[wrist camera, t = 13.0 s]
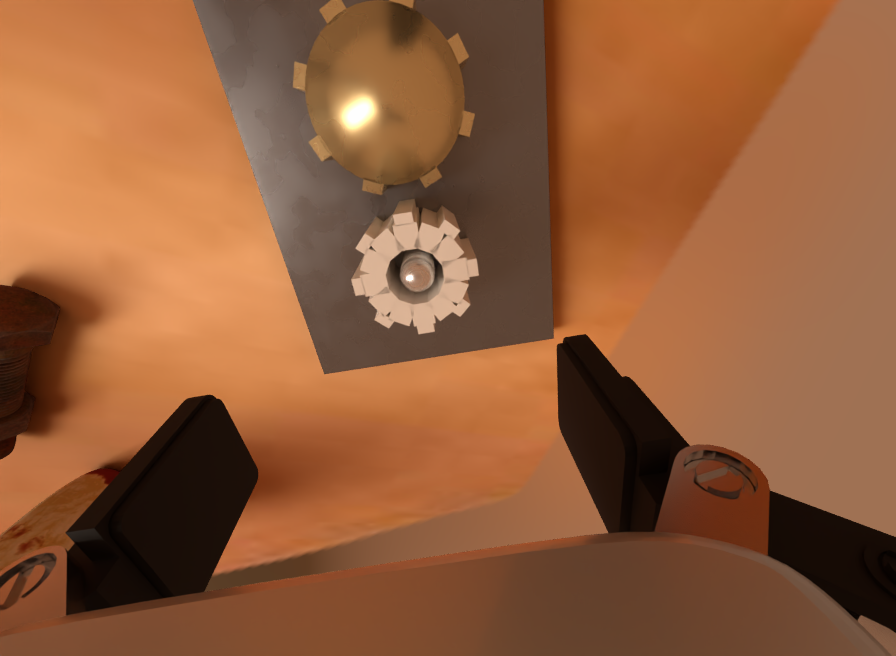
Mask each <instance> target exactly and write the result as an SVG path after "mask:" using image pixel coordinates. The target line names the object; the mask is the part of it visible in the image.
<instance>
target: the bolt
mask: <svg viewBox="0 0 896 656" xmlns="http://www.w3.org/2000/svg"><path fill="white" fill-rule="evenodd" d="M59 309H60V307H59V306H57V305H56V304H55V303H53V302H52V301H50V300H49V299H47V298H46V297H43V296H41V295H39V294H37V293H35V292H32V291H30V290H27V289H23V288H17V287H11V286H5V285H0V459H3V458H4V457H6V456H8V455H9V454H10V453H11V452H12V451H13V449H14V446H15V443H16V436H17V435H18V434H20V433H22V432H24V431H26V430H27V427H28V424H29V421H30V418H31V414H32V410H33V406H34V401H35V398H34V397H33V396H31V395H30V394H28V393H27V392H25V391H24V390H25V384H26V379H27V373H28V369H29V363H30V357H31V352H32V349H33V347H34V346H40V345H46V344H50V342H51V338H52V335H53V332H54V329H55V326H56V322H57V319H58V314H59Z"/></svg>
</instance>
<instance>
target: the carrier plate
mask: <svg viewBox="0 0 896 656" xmlns="http://www.w3.org/2000/svg"><path fill="white" fill-rule="evenodd" d="M329 1H331V0H193V2H194V5H195V8H196V11H197V14H198V16H199V19H200V22H201V25H202V28H203V31H204V34H205V36H206V39H207V42H208V45H209V48H210V51H211V53H212V56H213V59H214V62H215V65H216V68H217V70H218V73H219V76H220V79H221V82H222V85H223V87H224V90H225V93H226V96H227V99H228V102H229V105H230V107H231V110H232V113H233V116H234V119H235V122H236V124H237V127H238V130H239V133H240V136H241V139H242V141H243V144H244V147H245V150H246V153H247V156H248V159H249V161H250V164H251V167H252V170H253V173H254V176H255V178H256V181H257V184H258V187H259V190H260V193H261V195H262V198H263V201H264V204H265V207H266V210H267V212H268V215H269V218H270V221H271V224H272V227H273V230H274V232H275V235H276V238H277V241H278V244H279V247H280V249H281V252H282V255H283V258H284V261H285V264H286V266H287V269H288V272H289V275H290V278H291V281H292V284H293V286H294V289H295V292H296V295H297V298H298V301H299V303H300V306H301V309H302V312H303V315H304V318H305V320H306V323H307V326H308V329H309V332H310V335H311V337H312V340H313V343H314V346H315V349H316V352H317V355H318V357H319V360H320V363H321V366H322V369H323V372H324V374H329V373H335V372H341V371H348V370H354V369H361V368H367V367H374V366H380V365H386V364H393V363H399V362H406V361H412V360H418V359H425V358H431V357H438V356H444V355H451V354H457V353H463V352H470V351H476V350H483V349H489V348H495V347H502V346H508V345H515V344H521V343H528V342H534V341H540V340H547V339H553V338H554V332H553V299H552V266H551V233H550V200H549V168H548V135H547V102H546V69H545V36H544V3H543V0H416V11H417V12H419V13H421V14H422V15H424V16H425V17H426V18H427V19H429V20H430V21H431V22H432V23H433V24H434V25H435V26H436V27H437V28H438V29H439V30H440V31H441V33H442V34H443V35H444V37H445V38H446V40H449V39H450V38H451V37H453V36H454V35H456V34H457V33H458V34H459V37H460V39H461V41H462V43H463V45H464V47H465V49H466V51H467V53H468V56H469V58H468V60H467V62H466V64H465V66H464V68H462V69H461V74H462V78H463V84H464V96H465V103H464V111H467V112H471V113H474V114H475V116H474V120H473V124H472V128H471V133H470V137H461V136H458V137H457V139H456V141H455V144H454V145H453V147H452V149H451V150H450V152H449V153H448V155H447V156H446V157H445V159H444V160H443V161H442V162H441V163H440V164H439V165H438V166H437V168H438V170H439V171H440V173H441V176H442V177H441V178H440V179H438V180H437V181H435V182H434V183H432V184H431V185H429V186H428V187H426V188H425V187H424V185H423V183H422V182H421V180H420V178H419V179H417V180H414V181H412V182H408V183H403V184H395V185H388V186H387V190H386V191H385V192H384V193H383V194H382V195H379V194H375V193H371V192H367V191H363V190H362V187H363V180H364V179H362V178H360V177H358V176H356V175H354V174H352V173H351V172H349V171H348V170H346V169H345V168H344V167H342V166H341V165H340V164H339V163H338V162H337V161H336V160H335V159H333V160H328V161H323V162H322V161H321V160H320V158H319V157H318V155H317V154H316V152H315V151H314V150H313V148H312V147H311V145H310V144H309V141H311V140H312V139H313V138H315V137H316V136H317V134H316V132H315V130H314V127H313V125H312V122H311V119H310V116H309V113H308V108H307V104H306V95H305V92H303V91H301V90H298V89H296V88H293V77H294V61H295V62H298V63H302V64H305V65H307V63H308V59H309V55H310V52H311V50H312V47H313V45H314V43H315V41H316V39H317V37H318V36H319V34H320V32H321V31H322V30H323V28H324V27H325V26H326V25H327V22H326V21H325V19H324V17H323V16H322V14H321V12H320V11H319V9H321V8H322V7H323V6H324V5H326V4H327V3H328V2H329ZM366 1H374V0H342V2H343V3H344V5H345V7H346V8H348V7H351V6H353V5H355V4H358V3H362V2H366ZM383 1H389V0H383ZM410 199H415V204H416V207H418V208H419V213H420V215H421V212H422V209H423V208H425V209H428V210H431V211H433V212H436V213H437V212H438V210H439V209H440V207H441V206H443V207H445V208H446V209H447V210H449V211H450V212H451V213H453V214H454V215H455V218H456V221H457V223H458V226H459V229H460V232H459V233H458V235H459V237H460V239H465V238H468V239H469V242H470V244H471V246H472V249H473V251H474V253H475V256H476V258H477V265H478V273H479V276H473V277H469V279H470V280H468V283H469V285H468V288H467V293H468V296H469V300H470V306H469V307H468V308H467V309H466V311H465V312H464V313H463V314H462V315H461V317H460V316H458V315H457V314H455V313H453V312H452V313H450V314H449V315H448V316H446V317H445V318H444V319H442V320H441V321H440V320H439V319H438V318H437V317H436V316H435V319H436V323H434V325H435V332H429V333H423V334H418V330H417V326H415V327H414V323H413V319H412V320H411V323H410V326H407V325H404V324H401V323H398V322H393V324H392V325H391V326H390V328H387V327H385V326H384V325H382V324H380V323H379V322H377V321H375V316H376V313H377V309H376V308H375V307H374V306H373V305H372V304H371V303H370V302H369V298H370V296H367V297H366V296H365V294H364V295H358V296H356V295H355V292H354V288H353V285H352V281H351V278H352V277H353V275H354V273H355V271H356V269H357V268H358V266H359V264H360V262H361V260H362V259H363V257H364V255H365V254H363V253H361V252H360V251H358V250H357V249H355V248H356V246H357V245H358V243H359V242H360V240H361V239H362V237H363V235H364V234H365V232H366V231H367V229H368V228H369V226H370V225H371V223H372V222H373V220H374V219H375V217H378V218H379V219H380V220H382V221H383V222H384V221H385V220H386V219H388V218H389V217H390V216H391V215H392V214H393V213H394V211H395V209H396V207H397V205H398V203H399V201H404V200H410ZM394 259H395V264H396V265H397V266H398V267H399V268H400V279H401V281H402V283H403V285H404V286H405V287H406V288H407V289H409V290H411V291H414V292H421V291H424V290H426V289H428V288H429V287H430V286H431V285H432V283H433V281H434V278H435V269H436V268H437V267H438V264H439V261H438V260H437V259H436V258H435V257H434V255H433V254H431V253H429V252H426V251H423V250H420V249H418V248H417V249H411V250H405V251H401V252H400V253H399V254H398V255H397V256H395V257H394Z"/></svg>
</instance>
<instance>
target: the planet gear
mask: <svg viewBox="0 0 896 656" xmlns="http://www.w3.org/2000/svg"><path fill="white" fill-rule="evenodd" d="M459 232H460V229H459V226H458V223H457V221H456V218H455V215H454V214H453V213H451V212H450V211H449V210H447V209H446V208H445V207H443V206H441V207H440V209H439V210H438V212H437V213H436V212H433V211H431V210H428V209H425V208H423V209H422V212H421V215H420V213H419V208H418V207H416V204H415V199H410V200H404V201H399V203H398V205H397V207H396V209H395V211H394V213H393V214H392V215H391V216H390V217H389V218H388V219H386V220H385V221H384V222H383V221H382V220H380V219H379V218H378V217H375V219H374V220H373V222H372V223H371V225H370V226H369V228H368V229H367V231H366V232H365V234H364V235H363V237H362V239H361V240H360V242H359V243H358V245H357V246H356V248H355V249H357V250H358V251H360V252H361V253H363V254H365V255H364V257H363V259H362V260H361V262H360V264H359V266H358V268H357V269H356V271H355V273H354V275H353V277H352V278H351V281H352V285H353V288H354V292H355V295H356V296H358V295H364V294H365V296H366V297H367V296H370V298H369V302H370V303H371V304H372V305H373V306H374V307H375V308H376V309H377V313H376V316H375V321H377V322H379V323H380V324H382V325H384V326H385V327H387V328H390V326H391V325H392V324H393V322H398V323H401V324H404V325H407V326H410V323H411V320H412V319H413V323H414V327H415V326H417V330H418V334H423V333H429V332H435V325H434V323H436V319H435V316H436V317H437V318H438V319H439V320H440V321H441V320H442V319H444V318H445V317H446V316H448V315H449V314H450V313H452V312H453V313H455V314H457V315H458V316H460V317H461V315H462V314H463V313H464V312H465V311H466V309H467V308H468V307H469V306H470V300H469V296H468V293H467V288H468V285H469V283H468V280H470V279H469V277H473V276H479V273H478V265H477V258H476V256H475V253H474V251H473V249H472V246H471V244H470V242H469V239H468V238H465V239H460V237H459V235H458V233H459ZM417 248H418V249H420V250H423V251H426V252H429V253H431V254H433V255H434V257H435V258H436V259H437V260H438V261H439V264H438V267H437V268H436V269H435V278H434V281H433V283H432V285H431V286H430V287H429V288H428V289H426V290H424V291H421V292H414V291H411V290H409V289H407V288H406V287H405V286H404V285H403V283H402V281H401V279H400V268H399V267H398V266H397V265H396V264H395V259H394V257H395V256H397V255H398V254H399V253H400V252H401V251H405V250H411V249H417Z"/></svg>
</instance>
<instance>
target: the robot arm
mask: <svg viewBox="0 0 896 656" xmlns="http://www.w3.org/2000/svg"><path fill="white" fill-rule="evenodd" d="M557 378H558V419H559V426H560V430H561V433H562V435H563V437H564V439H565V441H566V444H567V446H568V448H569V450H570V452H571V454H572V456H573V459H574V461H575V463H576V465H577V467H578V469H579V471H580V473H581V475H582V478H583V480H584V482H585V484H586V486H587V488H588V490H589V492H590V494H591V497H592V499H593V501H594V503H595V505H596V507H597V509H598V511H599V514H600V516H601V518H602V520H603V522H604V524H605V526H606V529H607V531H608V533H606V534H594V535H584V536H577V537H569V538H561V539H553V540H545V541H538V542H530V543H522V544H515V545H507V546H501V547H494V548H487V549H480V550H474V551H467V552H460V553H454V554H447V555H441V556H433V557H427V558H420V559H413V560H406V561H400V562H393V563H387V564H380V565H374V566H367V567H360V568H354V569H347V570H341V571H334V572H328V573H321V574H315V575H308V576H302V577H295V578H289V579H283V580H276V581H270V582H263V583H257V584H251V585H244V586H238V587H232V588H225V589H219V590H213V591H207V592H204V591H205V589H206V587H207V585H208V582H209V580H210V578H211V576H212V574H213V572H214V570H215V568H216V566H217V564H218V562H219V560H220V557H221V555H222V553H223V551H224V549H225V547H226V545H227V543H228V541H229V539H230V537H231V535H232V532H233V530H234V528H235V526H236V524H237V522H238V520H239V518H240V516H241V514H242V512H243V510H244V508H245V505H246V503H247V501H248V499H249V497H250V495H251V493H252V491H253V489H254V487H255V485H256V483H257V480H258V469H257V467H256V465H255V463H254V461H253V459H252V457H251V455H250V453H249V451H248V449H247V447H246V445H245V444H244V442H243V440H242V438H241V436H240V434H239V432H238V430H237V428H236V426H235V424H234V423H233V421H232V419H231V417H230V415H229V413H228V411H227V409H226V407H225V405H224V403H223V402H222V401H221V400H220V399H216V397H214V396H213V395H205V396H198V397H192V398H188V399H186V400H185V401H184V402H183V403H182V404H181V405H180V406H179V407H178V409H177V410H176V411H175V412H174V413H173V414H172V415H171V416H170V417H169V418H168V420H167V421H166V422H165V423H164V424H163V425H162V426H161V427H160V428H159V430H158V431H157V432H156V433H155V434H154V435H153V436H152V437H151V438H150V439H149V441H148V442H147V443H146V444H145V445H144V446H143V447H142V448H141V449H140V451H139V452H138V453H137V454H136V455H135V456H134V457H133V458H132V459H131V461H130V462H129V463H128V464H127V465H126V466H125V467H124V468H123V469H122V470H121V472H120V473H119V474H118V475H117V476H116V477H115V478H114V479H113V480H112V482H111V483H110V484H109V485H108V486H107V487H106V488H105V489H104V490H103V491H102V493H101V494H100V495H99V496H98V497H97V498H96V499H95V500H94V501H93V503H92V504H91V505H90V506H89V507H88V508H87V509H86V510H85V511H84V513H83V514H82V515H81V516H80V517H79V518H78V519H77V520H76V521H75V522H74V524H73V525H72V526H71V527H70V528H69V529H68V530H67V531H66V532H65V533H66V534H67V535H68V536H69V537H70V539H71V540H72V541H73V542H74V545H73V546H72V547H71V548H70V549H69V550H68V551H67V550H66V549H65V548H64V547H61V546H59V545H57V546H48V547H44V548H41V549H38V550H35V551H33V552H31V553H29V554H27V555H25V556H23V557H21V558H19V559H18V560H16V561H15V562H13V563H12V564H10V565H8V566H7V567H5V568H4V569H3V570H1V571H0V656H896V537H894V536H891V535H888V534H886V533H883V532H880V531H877V530H875V529H872V528H870V527H867V526H864V525H861V524H859V523H856V522H853V521H851V520H848V519H845V518H843V517H840V516H837V515H835V514H832V513H829V512H826V511H823V510H821V509H818V508H816V507H813V506H810V505H807V504H805V503H802V502H799V501H797V500H794V499H791V498H789V497H786V496H783V495H781V494H778V493H775V492H772V491H770V489H769V484H768V480H767V478H766V477H765V475H764V474H763V472H762V471H761V470H760V468H758V467H757V466H756V465H755V464H754V463H753V462H752V461H750V460H749V459H747V458H745V457H744V456H742V455H740V454H739V453H737V452H734V451H731V450H728V449H726V448H723V447H718V446H714V445H693V446H690V445H689V444H688V443H687V442H686V441H685V440H684V439H683V437H682V436H681V435H680V434H679V433H678V432H677V431H676V429H675V428H674V427H673V426H672V425H671V424H670V422H669V421H668V420H667V419H666V418H665V417H664V416H663V414H662V413H661V412H660V411H659V410H658V409H657V407H656V406H655V405H654V404H653V403H652V402H651V401H650V399H649V398H648V397H647V396H646V395H645V394H644V393H643V392H642V391H641V389H640V388H639V387H638V386H637V385H636V383H635V382H634V381H633V380H632V379H631V378H629V377H626V376H625V377H622V376H621V375H620V374H619V373H618V372H617V370H616V369H615V368H614V367H613V366H612V364H611V363H610V362H609V361H608V360H607V358H606V357H605V356H604V355H603V354H602V352H601V351H600V350H599V349H598V348H597V346H596V345H595V344H594V343H593V342H592V341H591V339H590V338H589V337H588V336H587V335H586V334H583V335H577V336H571V337H565V338H564V340H563V343H561V344H558V345H557Z"/></svg>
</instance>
